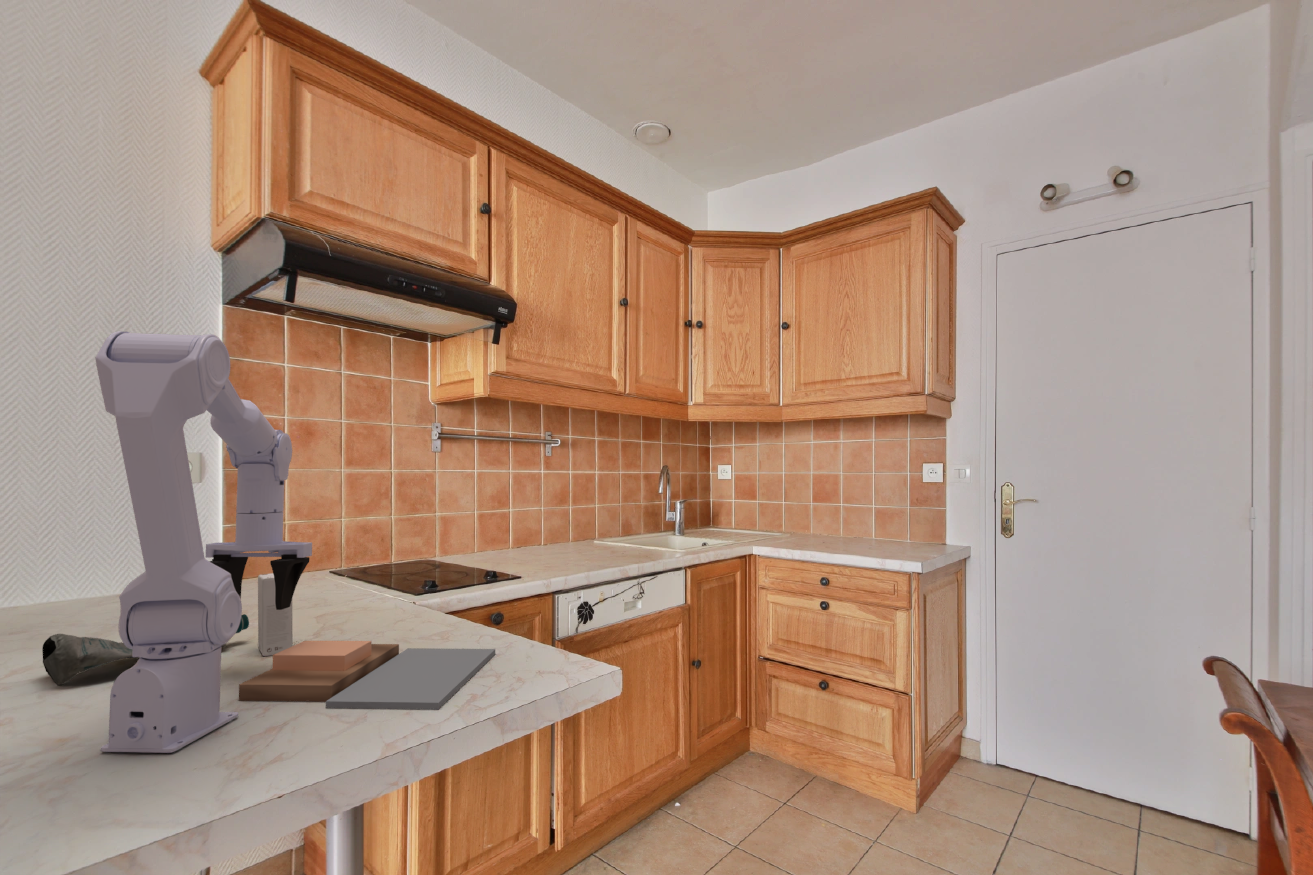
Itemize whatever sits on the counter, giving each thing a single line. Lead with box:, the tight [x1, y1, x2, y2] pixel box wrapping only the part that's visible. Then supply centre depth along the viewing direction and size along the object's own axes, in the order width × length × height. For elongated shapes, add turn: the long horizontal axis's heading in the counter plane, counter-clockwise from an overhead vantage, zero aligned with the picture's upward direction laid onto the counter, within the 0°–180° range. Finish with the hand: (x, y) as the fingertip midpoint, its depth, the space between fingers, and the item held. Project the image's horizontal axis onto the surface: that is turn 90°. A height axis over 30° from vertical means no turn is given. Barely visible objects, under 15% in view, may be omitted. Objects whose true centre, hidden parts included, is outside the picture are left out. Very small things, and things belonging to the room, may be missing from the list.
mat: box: [325, 647, 496, 710], centre depth 85 cm, size 22×14×1 cm, turn 177°
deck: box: [238, 643, 400, 703], centre depth 86 cm, size 18×12×2 cm, turn 177°
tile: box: [271, 640, 372, 671], centre depth 86 cm, size 7×10×2 cm
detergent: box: [42, 613, 250, 686], centre depth 93 cm, size 13×7×25 cm
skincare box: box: [257, 572, 294, 657], centre depth 99 cm, size 6×4×12 cm
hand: (257, 608), depth 87 cm, fingers open, 7 cm apart
